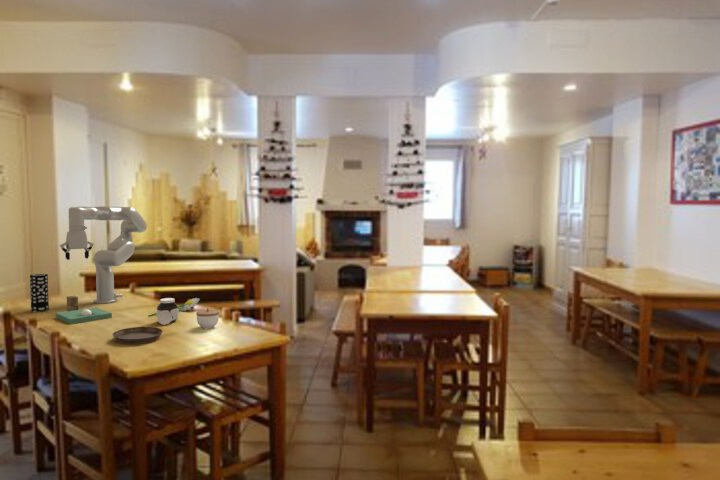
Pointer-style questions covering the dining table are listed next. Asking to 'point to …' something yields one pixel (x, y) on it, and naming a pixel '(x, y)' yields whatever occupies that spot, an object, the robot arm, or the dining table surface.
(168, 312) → the spread jar
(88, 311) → the ball
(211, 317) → the lidded jar
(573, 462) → the dining table surface
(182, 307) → the decorative flower
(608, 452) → the dining table surface
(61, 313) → the putting mat
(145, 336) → the plant saucer
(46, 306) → the spotted tube
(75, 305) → the brown block
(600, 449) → the dining table surface
